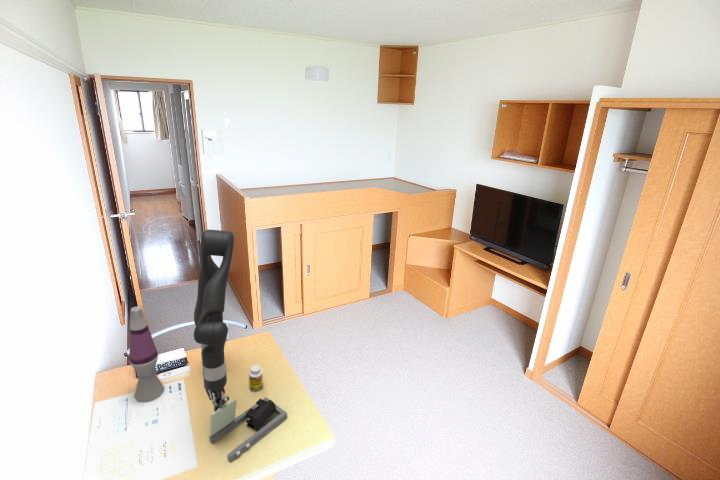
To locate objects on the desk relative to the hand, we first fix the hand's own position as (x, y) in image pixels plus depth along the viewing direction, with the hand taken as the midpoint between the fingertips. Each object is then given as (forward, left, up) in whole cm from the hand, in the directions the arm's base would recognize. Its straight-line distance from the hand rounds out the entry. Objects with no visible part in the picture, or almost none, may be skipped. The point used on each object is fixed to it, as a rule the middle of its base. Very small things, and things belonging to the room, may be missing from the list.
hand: (218, 411), depth 137 cm
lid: (+3, 0, -1) cm, 4 cm away
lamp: (-38, -8, -10) cm, 40 cm away
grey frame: (+7, +7, -10) cm, 14 cm away
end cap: (+7, +13, -10) cm, 18 cm away
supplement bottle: (-9, +23, -10) cm, 27 cm away
